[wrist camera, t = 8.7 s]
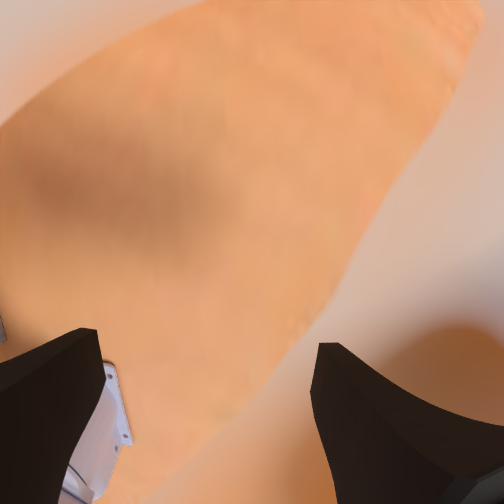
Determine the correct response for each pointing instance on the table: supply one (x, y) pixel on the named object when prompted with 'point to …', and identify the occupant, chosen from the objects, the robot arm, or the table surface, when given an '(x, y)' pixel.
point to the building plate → (2, 333)
